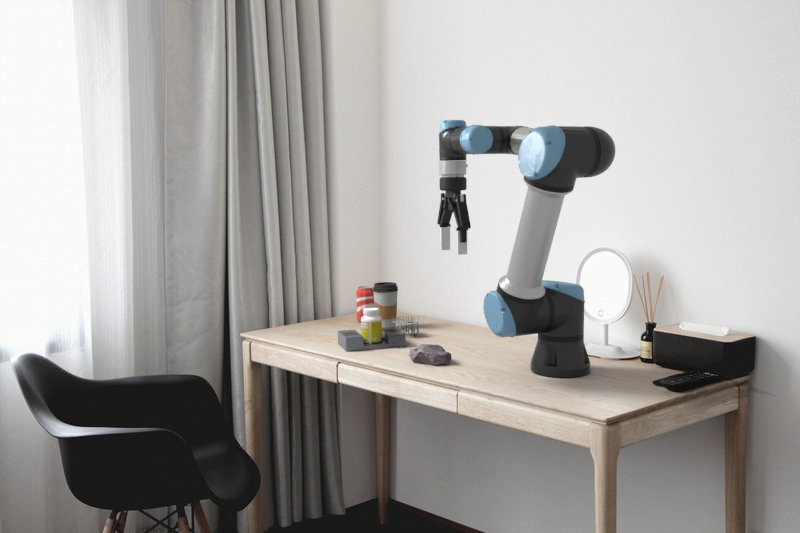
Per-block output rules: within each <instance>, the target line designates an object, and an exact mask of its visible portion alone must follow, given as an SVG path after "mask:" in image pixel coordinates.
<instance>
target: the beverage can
mask: <svg viewBox="0 0 800 533" xmlns="http://www.w3.org/2000/svg"><path fill="white" fill-rule="evenodd" d="M373 287H374V286H372V285H362V286H357V289H356V293H355V294H356V295H355V296H356V321H358V322H359V323H361V318H362V317H363V316H364V314H363V309H365V308H375V307H374V292H373Z"/></svg>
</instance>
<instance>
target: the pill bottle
mask: <svg viewBox="0 0 800 533" xmlns="http://www.w3.org/2000/svg"><path fill="white" fill-rule="evenodd" d="M363 314H364V316H363V317H362V318H361V322H360V326H361V328H360V329H361V333H360V334H361V335H362V336H363V341H364V345H366V344H379V343H382V319H381V317H380V316H379V315H378V314H379V309H378V308H365V309H363Z"/></svg>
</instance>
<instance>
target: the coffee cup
mask: <svg viewBox="0 0 800 533" xmlns="http://www.w3.org/2000/svg"><path fill="white" fill-rule="evenodd" d="M373 284H374V285H373V286H372V287H373V292H374V307H375V308H378V309H379V314H378V315H379V316H380V317H381V319H382V328H385V327H396V328H397V324H396V323H393V321H397V315H398V314H397V313H398V311H397V310H398V291H399V289H398V285H397V282H390V281H382V282H381V281H380V282H375V283H373ZM395 318H396V319H395Z"/></svg>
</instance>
